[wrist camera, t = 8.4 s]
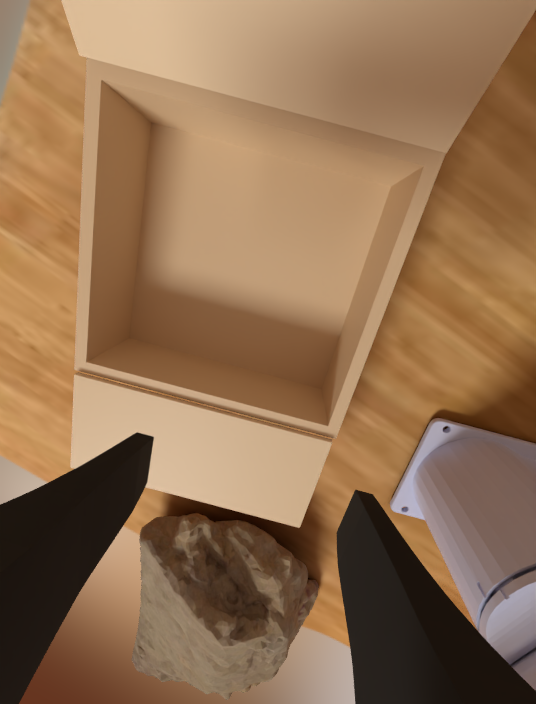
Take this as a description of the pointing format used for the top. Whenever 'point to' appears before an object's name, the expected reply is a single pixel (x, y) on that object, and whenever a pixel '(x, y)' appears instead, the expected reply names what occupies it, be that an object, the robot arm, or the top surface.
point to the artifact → (217, 603)
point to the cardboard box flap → (318, 54)
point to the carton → (230, 283)
